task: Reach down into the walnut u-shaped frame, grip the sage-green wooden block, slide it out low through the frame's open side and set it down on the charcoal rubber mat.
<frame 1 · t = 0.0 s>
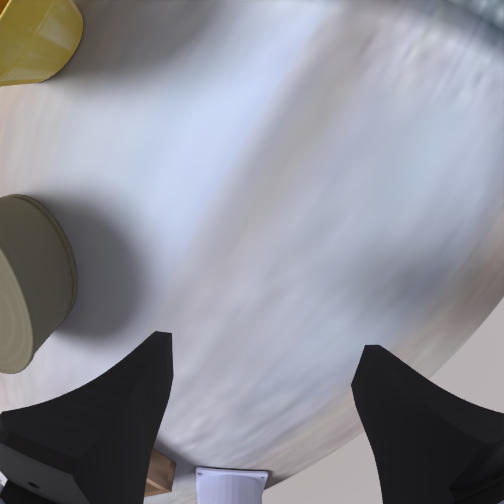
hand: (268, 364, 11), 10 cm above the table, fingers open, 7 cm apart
can: (24, 263, 20), on the table
plant pot: (49, 42, 15), on the table
walnut u-shaped frame: (98, 446, 27), on the table
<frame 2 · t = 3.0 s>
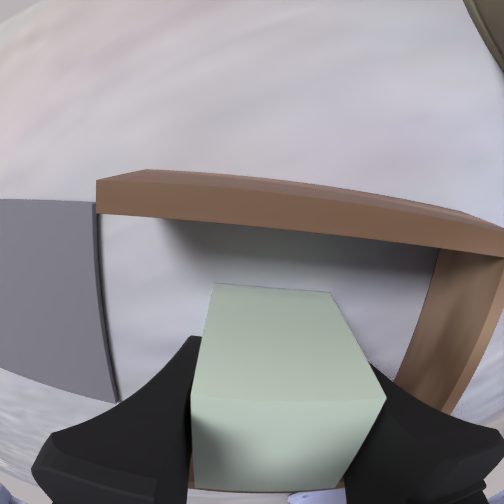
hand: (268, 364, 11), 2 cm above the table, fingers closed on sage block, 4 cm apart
charcoal mat: (20, 300, 12), on the table
walnut u-shaped frame: (289, 338, 13), on the table
sage block: (265, 337, 13), on the table, touching gripper
when the fingers open (3 cm above the table, at t = 7.7 s): sage block stays where it is, resting on charcoal mat.
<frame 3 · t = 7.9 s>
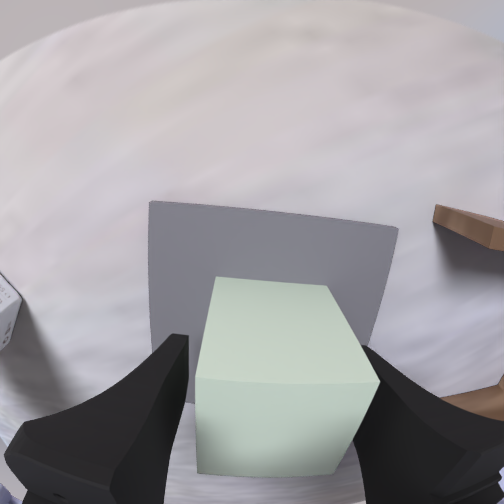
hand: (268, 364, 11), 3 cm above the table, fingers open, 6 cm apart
charcoal mat: (264, 325, 13), on the table
walnut u-shaped frame: (480, 326, 14), on the table
sage block: (265, 329, 13), resting on charcoal mat
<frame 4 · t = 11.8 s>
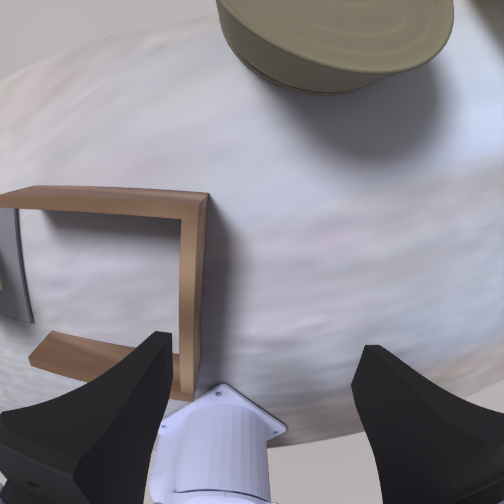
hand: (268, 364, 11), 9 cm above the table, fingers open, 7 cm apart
can: (312, 15, 15), on the table
walnut u-shaped frame: (106, 278, 20), on the table
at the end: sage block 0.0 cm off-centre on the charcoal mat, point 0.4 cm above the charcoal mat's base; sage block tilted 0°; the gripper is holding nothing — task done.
